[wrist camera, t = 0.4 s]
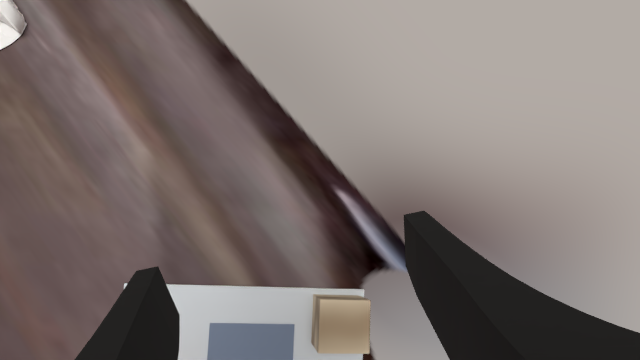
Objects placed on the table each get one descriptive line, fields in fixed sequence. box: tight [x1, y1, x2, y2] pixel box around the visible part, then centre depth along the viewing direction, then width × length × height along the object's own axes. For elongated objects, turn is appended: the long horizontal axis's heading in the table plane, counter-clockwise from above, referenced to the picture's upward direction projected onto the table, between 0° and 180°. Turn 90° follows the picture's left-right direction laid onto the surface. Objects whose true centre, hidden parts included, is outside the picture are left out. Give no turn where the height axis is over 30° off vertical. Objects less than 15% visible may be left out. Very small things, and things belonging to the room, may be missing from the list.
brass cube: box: [311, 294, 370, 354], centre depth 38 cm, size 4×4×4 cm
